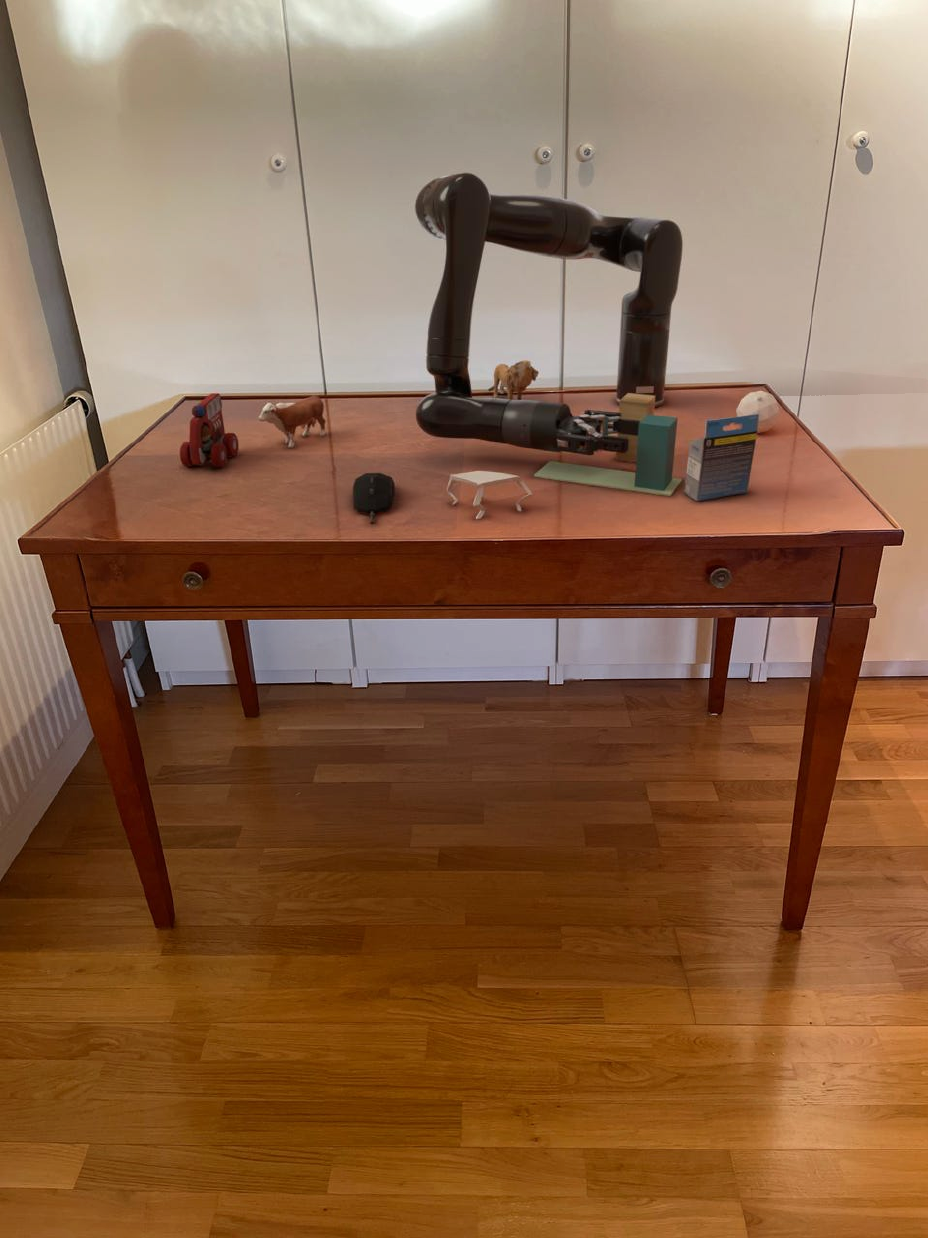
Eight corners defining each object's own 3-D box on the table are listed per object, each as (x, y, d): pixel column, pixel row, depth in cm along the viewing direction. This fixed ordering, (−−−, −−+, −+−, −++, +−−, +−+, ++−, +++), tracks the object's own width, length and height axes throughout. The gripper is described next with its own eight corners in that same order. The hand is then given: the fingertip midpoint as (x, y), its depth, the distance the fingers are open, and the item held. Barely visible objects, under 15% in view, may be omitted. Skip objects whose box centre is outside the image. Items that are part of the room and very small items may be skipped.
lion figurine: (541, 406, 174) (542, 360, 169) (519, 411, 171) (520, 364, 167) (498, 390, 184) (498, 346, 180) (477, 395, 182) (476, 350, 177)
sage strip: (549, 462, 146) (549, 460, 146) (682, 480, 137) (682, 478, 137) (533, 476, 141) (533, 475, 140) (670, 496, 132) (670, 494, 132)
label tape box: (733, 485, 135) (744, 405, 129) (749, 494, 132) (760, 413, 126) (683, 493, 133) (691, 413, 127) (697, 503, 130) (706, 421, 123)
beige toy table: (453, 523, 126) (452, 490, 123) (446, 501, 133) (445, 470, 130) (536, 516, 127) (536, 484, 124) (524, 495, 134) (525, 464, 132)
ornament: (785, 429, 157) (789, 402, 150) (746, 447, 157) (749, 420, 150) (766, 401, 160) (769, 373, 153) (728, 419, 160) (729, 391, 153)
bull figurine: (259, 449, 156) (252, 403, 152) (319, 430, 165) (314, 386, 160) (274, 454, 154) (268, 408, 149) (334, 434, 162) (329, 390, 158)
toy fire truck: (177, 473, 147) (164, 411, 141) (206, 448, 157) (196, 390, 152) (216, 474, 146) (205, 412, 140) (243, 449, 156) (234, 390, 151)
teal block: (642, 476, 139) (647, 414, 134) (671, 480, 137) (677, 417, 132) (634, 486, 135) (638, 422, 130) (663, 490, 133) (669, 426, 128)
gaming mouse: (349, 525, 126) (347, 499, 124) (355, 487, 139) (352, 462, 137) (394, 523, 126) (392, 497, 124) (395, 485, 139) (393, 461, 137)
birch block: (624, 451, 150) (628, 392, 145) (650, 454, 148) (655, 395, 143) (615, 460, 146) (619, 400, 141) (643, 463, 144) (647, 403, 139)
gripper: (519, 414, 133) (623, 426, 126) (553, 389, 144) (651, 399, 137) (519, 462, 136) (620, 476, 130) (552, 434, 147) (647, 446, 141)
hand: (636, 436), depth 134 cm, fingers open, 8 cm apart
